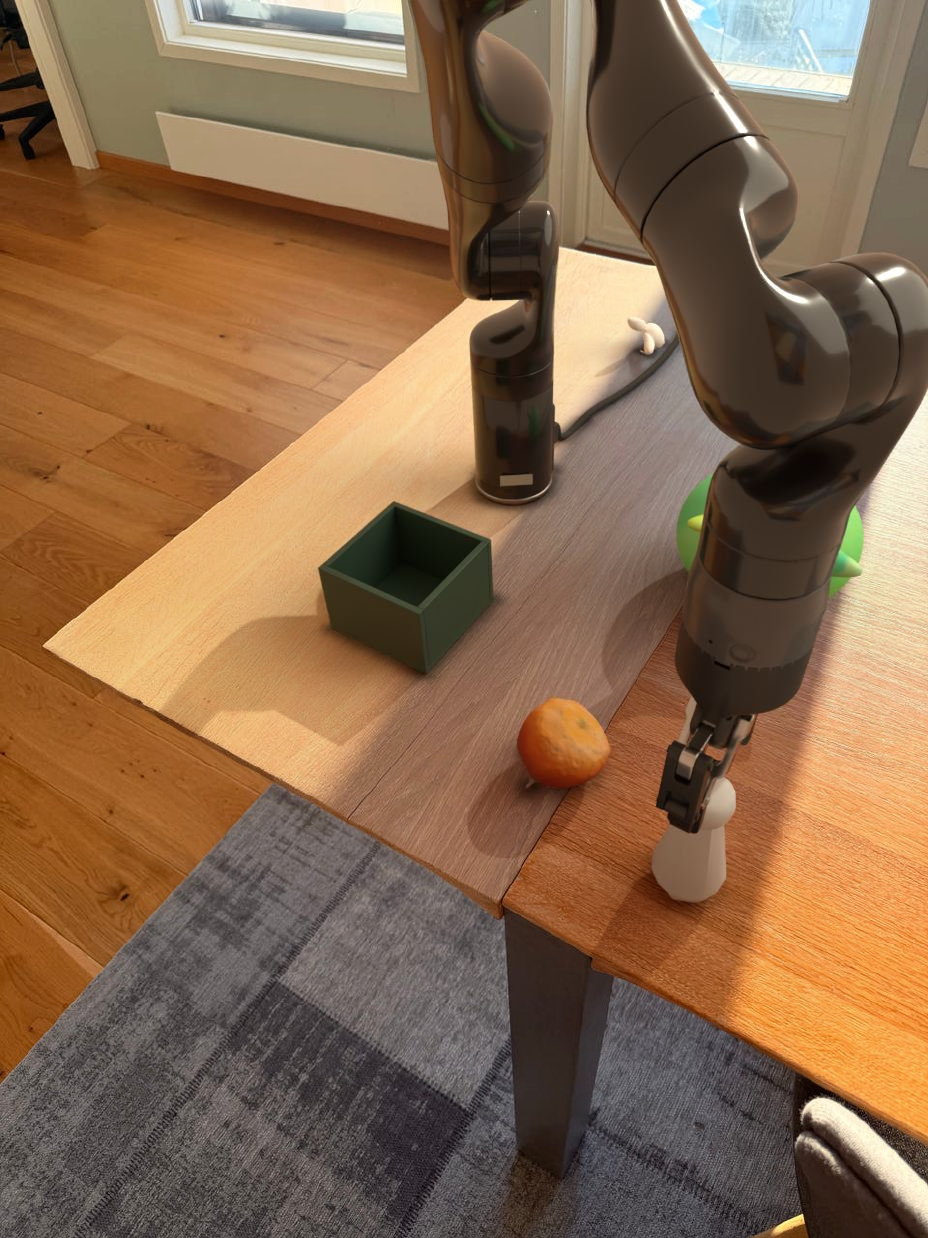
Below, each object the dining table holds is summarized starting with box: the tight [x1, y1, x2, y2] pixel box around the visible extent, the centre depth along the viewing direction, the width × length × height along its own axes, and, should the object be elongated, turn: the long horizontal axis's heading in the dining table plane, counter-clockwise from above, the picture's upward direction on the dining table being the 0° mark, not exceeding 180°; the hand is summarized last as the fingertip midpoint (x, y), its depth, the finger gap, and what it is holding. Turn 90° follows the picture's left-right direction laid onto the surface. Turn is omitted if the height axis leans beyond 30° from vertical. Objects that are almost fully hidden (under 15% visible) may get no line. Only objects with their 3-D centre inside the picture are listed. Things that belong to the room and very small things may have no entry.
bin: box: [317, 500, 494, 675], centre depth 93 cm, size 12×12×9 cm
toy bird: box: [675, 472, 865, 598], centre depth 91 cm, size 18×17×15 cm
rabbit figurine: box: [626, 316, 666, 356], centre depth 130 cm, size 6×4×8 cm
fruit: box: [516, 697, 612, 790], centre depth 79 cm, size 8×8×8 cm
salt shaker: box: [651, 776, 737, 904], centre depth 69 cm, size 6×6×13 cm
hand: (709, 779), depth 63 cm, fingers open, 8 cm apart
